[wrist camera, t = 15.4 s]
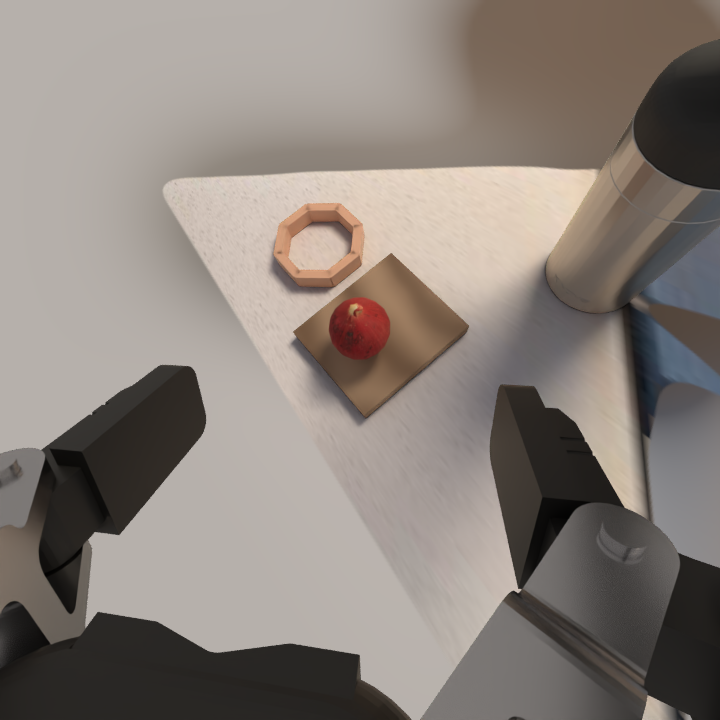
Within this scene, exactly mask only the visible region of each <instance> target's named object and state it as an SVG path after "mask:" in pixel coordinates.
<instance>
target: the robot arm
mask: <svg viewBox="0 0 720 720" xmlns="http://www.w3.org/2000/svg"><path fill="white" fill-rule="evenodd" d="M719 226H720V39H718V40H714V41H711V42H708V43H705V44H702V45H700V46H697V47H695V48H693V49H691V50H689V51H687V52H685V53H684V54H682V55H681V56H679V57H678V58H677V59H675V60H674V61H673V62H671V63H670V64H669V65H668V66H667V67H666V68H665V70H663V72H662V73H661V74H660V75H659V76H658V78H657V79H656V80H655V82H654V84H653V85H652V86H651V88H650V89H649V91H648V93H647V94H646V96H645V98H644V99H643V101H642V103H641V104H640V106H639V108H638V110H637V112H636V113H635V115H634V116H633V118H632V120H631V121H630V123H629V125H628V126H627V128H626V130H625V131H624V133H623V135H622V136H621V138H620V140H619V142H618V143H617V145H616V147H615V149H614V150H613V152H612V153H611V155H610V157H609V159H608V160H607V162H606V163H605V165H604V167H603V168H602V170H601V172H600V173H599V175H598V177H597V178H596V180H595V182H594V183H593V185H592V187H591V188H590V190H589V191H588V193H587V195H586V196H585V198H584V200H583V201H582V203H581V205H580V206H579V208H578V210H577V211H576V213H575V215H574V216H573V218H572V220H571V221H570V223H569V225H568V226H567V228H566V230H565V231H564V233H563V234H562V236H561V238H560V239H559V241H558V243H557V244H556V246H555V248H554V249H553V251H552V253H551V254H550V256H549V258H548V261H547V264H546V278H547V281H548V284H549V286H550V288H551V289H552V291H553V292H554V294H555V295H556V296H557V297H558V298H559V299H560V300H561V301H563V302H564V303H566V304H567V305H569V306H571V307H573V308H575V309H577V310H581V311H585V312H589V313H605V312H610V311H614V310H617V309H619V308H621V307H623V306H624V305H626V304H627V303H629V302H630V301H631V300H632V299H633V298H634V297H636V296H637V295H638V294H639V293H640V292H642V291H643V290H644V289H645V288H646V287H647V286H649V285H650V284H651V283H653V282H654V281H655V280H656V279H657V278H658V277H660V276H661V275H662V274H663V273H664V272H666V271H667V270H668V269H669V268H670V267H671V266H673V265H674V264H675V263H676V262H677V261H679V260H680V259H681V258H682V257H683V256H684V255H686V254H687V253H688V252H689V251H690V250H692V249H693V248H694V247H695V246H696V245H697V244H699V243H700V242H701V241H702V240H703V239H705V238H706V237H707V236H708V235H709V234H710V233H712V232H713V231H714V230H715V229H716V228H718V227H719ZM92 413H93V414H92V415H88V416H87V417H85V418H84V419H83V420H81V421H80V422H78V423H77V424H76V425H75V426H73V427H72V428H70V429H69V430H68V431H67V432H65V433H64V434H62V435H61V436H60V437H58V438H57V439H56V440H54V441H53V442H52V443H50V444H49V445H47V446H46V447H45V448H43V449H42V450H39V449H35V448H22V449H16V450H12V451H8V452H4V453H1V454H0V720H411V719H410V717H409V716H408V715H407V714H406V713H405V712H404V711H403V710H402V709H401V708H400V707H399V706H398V705H397V704H396V703H395V702H393V701H392V700H391V699H390V698H388V697H387V696H386V695H384V694H383V693H382V692H380V691H379V690H378V689H376V688H375V687H373V686H371V685H370V684H368V683H366V682H364V681H362V680H361V675H360V655H357V654H351V653H344V652H339V651H333V650H327V649H320V648H314V647H308V646H302V645H296V644H283V645H276V646H268V647H260V648H252V649H244V650H237V651H230V652H222V653H214V652H209V651H207V650H205V649H203V648H202V647H200V646H198V645H196V644H195V643H193V642H191V641H189V640H188V639H186V638H184V637H183V636H181V635H179V634H177V633H176V632H174V631H172V630H170V629H169V628H167V627H165V626H163V625H162V624H160V623H158V622H156V621H150V620H144V619H137V618H131V617H125V616H119V615H113V614H107V613H100V612H97V614H96V615H95V616H94V618H93V619H92V621H91V622H90V623H89V625H88V626H87V627H86V629H85V619H86V609H87V599H88V588H89V578H90V567H91V557H92V548H91V545H90V543H89V541H88V539H89V538H90V537H91V536H92V534H93V533H94V532H100V533H108V534H115V535H120V534H121V532H122V531H123V530H124V529H125V527H126V526H127V525H128V524H129V523H130V521H131V520H132V519H133V518H134V517H135V515H136V514H137V513H138V512H139V511H140V509H141V508H142V507H143V506H144V505H145V503H146V502H147V501H148V500H149V499H150V497H151V496H152V495H153V494H154V493H155V491H156V490H157V489H158V488H159V487H160V485H161V484H162V483H163V482H164V480H165V479H166V478H167V477H168V476H169V474H170V473H171V472H172V471H173V470H174V468H175V467H176V466H177V465H178V464H179V462H180V461H181V460H182V459H183V458H184V456H185V455H186V454H187V453H188V452H189V450H190V449H191V448H192V447H193V445H194V444H195V443H196V442H197V441H198V439H199V438H200V437H201V435H202V434H203V432H204V429H205V424H206V414H205V409H204V405H203V402H202V397H201V393H200V389H199V385H198V381H197V377H196V373H195V371H194V370H193V369H192V368H191V367H189V366H176V365H160V366H158V367H157V368H155V369H154V370H153V371H151V372H150V373H149V374H147V375H146V376H145V377H144V378H142V379H141V380H139V381H138V382H137V383H135V384H134V385H133V386H130V387H128V388H126V389H124V390H122V391H120V392H119V393H118V394H116V395H115V396H114V397H112V398H111V399H110V400H108V401H107V402H106V404H105V405H101V406H100V407H99V408H97V409H96V410H95V411H93V412H92ZM592 453H593V452H592V451H591V449H590V447H589V445H588V444H587V442H585V438H584V437H583V435H582V433H581V431H580V430H579V428H578V426H577V425H576V423H575V422H574V421H573V420H572V419H570V418H569V417H568V416H567V415H565V414H564V413H563V412H562V411H560V410H559V409H557V408H545V406H544V404H543V402H542V400H541V398H540V396H539V394H538V392H537V390H536V388H535V387H534V386H520V385H503V384H502V385H500V387H499V390H498V394H497V400H496V406H495V412H494V419H493V425H492V431H491V437H490V459H491V465H492V470H493V474H494V479H495V483H496V488H497V493H498V497H499V502H500V507H501V511H502V516H503V520H504V525H505V530H506V534H507V539H508V543H509V548H510V553H511V557H512V562H513V567H514V571H515V576H516V580H517V585H518V589H522V590H521V591H520V592H519V593H517V592H515V591H511V592H510V593H509V594H508V595H507V596H506V597H505V598H504V600H503V601H502V602H501V604H500V605H499V606H498V608H497V609H496V611H495V612H494V614H493V615H492V617H491V618H490V619H489V621H488V622H487V624H486V625H485V627H484V628H483V630H482V631H481V632H480V634H479V635H478V637H477V638H476V640H475V641H474V643H473V644H472V645H471V647H470V648H469V650H468V651H467V653H466V654H465V656H464V657H463V659H462V660H461V661H460V663H459V664H458V666H457V667H456V669H455V670H454V672H453V673H452V675H451V676H450V677H449V679H448V680H447V682H446V683H445V685H444V686H443V688H442V689H441V690H440V692H439V693H438V695H437V696H436V698H435V699H434V701H433V702H432V703H431V705H430V706H429V708H428V709H427V711H426V712H425V714H424V715H423V717H422V718H421V719H420V720H642V717H643V713H644V710H645V706H646V701H647V695H649V696H651V697H653V698H655V699H657V700H659V701H661V702H664V703H666V704H668V705H670V706H672V707H674V708H676V709H678V710H680V711H682V712H684V713H686V714H688V715H690V716H691V718H692V720H720V568H718V567H715V566H712V565H710V564H706V563H704V562H701V561H698V560H695V559H692V558H689V557H687V556H684V555H682V554H679V553H678V552H677V550H676V548H675V547H674V545H673V543H672V542H671V541H670V539H669V538H668V537H667V536H666V535H665V534H664V533H663V532H662V531H661V530H660V529H659V528H658V527H657V526H655V525H654V524H653V523H652V522H650V521H649V520H647V519H646V518H644V517H642V516H641V515H639V514H637V513H635V512H633V511H631V510H628V509H626V508H624V506H623V504H622V503H621V501H620V499H619V497H618V496H617V494H616V492H615V490H614V489H613V487H612V485H611V483H610V482H609V480H608V478H607V477H606V475H605V473H604V471H603V470H602V468H601V466H600V464H599V463H598V461H597V459H596V457H595V456H593V455H592Z"/></svg>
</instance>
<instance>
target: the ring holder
mask: <svg viewBox="0 0 720 720" xmlns="http://www.w3.org/2000/svg"><path fill="white" fill-rule="evenodd" d="M327 221H339V222H340V223H341V224H342V225H343V226H344V227H345V228H346V229H347V230H348V231H349V232H350V233H351V234H352V235H353V237H352V246H351V252H350V253H349V254H348V255H346V256H345V257H344V258H343V259H341V260H340V261H339V262H338V263H336V264H335V265H334V266H332V267H331V268H330V269H329V270H299V269H298V268H297V267H296V266H295V265H294V264H293V263H292V262H291V260H290V259H289V258H288V255H289V250H290V244H291V238H292V237H293V236H294V235H296V234H297V233H298V232H300V231H301V230H302V229H304V228H305V227H306V226H307V225H309V224H310V223H311V222H327ZM364 236H365V235H364V230H363V225H362V223H361V222H360V221H359V220H358V219H357V218H356V217H354V216H353V215H352V214H351V213H350V212H349V211H348V210H347V209H346V208H345V207H344V206H343V205H342V204H340V203H316V204H307V205H306V204H305V205H304V206H302V207H301V208H300V209H299V210H297V211H296V212H295V213H293V214H292V215H291V216H289V217H288V218H287V219H285V220H284V221H283V222H281V223H280V225H279V227H278V232H277V238H276V243H275V248H274V256H275V258H276V260H277V261H278V263H279V265H280V266H281V267H282V268H283V269H284V270H285V271H286V272H287V274H288V275H289V276H290V277H291V278H292V279H293V280H294V281H295V282H296V283H297V285H298V286H305V287H333V286H334V287H335V286H336V285H337V284H338V283H340V282H341V281H342V280H343V279H345V278H346V277H347V276H348V275H350V274H351V273H352V272H354V271H355V270H356V269H357V268H359V267H360V266H361V264H362V255H363V245H364Z"/></svg>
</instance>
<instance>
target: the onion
mask: <svg viewBox="0 0 720 720" xmlns="http://www.w3.org/2000/svg"><path fill="white" fill-rule="evenodd" d="M329 334H330V337H331V341H332V344H333V345H334V346H335V347H336V349H337V350H338V351H339V352H340V353H341V354H342V355H344V356H346V357H348V358H351V359H353V360H363V359H368V358H370V357H372V356H374V355H376V354H378V353H379V352H380V351H381V350H382V349H383V348H384V347H385V345H386V343H387V340H388V338H389V336H390V320H389V317H388V315H387V313H386V311H385V309H384V308H383V307H382V306H380V305H379V304H378V303H377V302H375V301H373V300H371V299H368V298H365V297H357V298H351V299H348V300H346V301H343V302H342V303H341V304H340V305H339V306H338V307H336V308H335V310H334V312H333V314H332V315H331V317H330V323H329Z"/></svg>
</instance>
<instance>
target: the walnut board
mask: <svg viewBox="0 0 720 720" xmlns="http://www.w3.org/2000/svg"><path fill="white" fill-rule="evenodd" d="M357 297H365V298H368V299H371V300H373V301H375V302H377V303H378V304H379V305H380V306H382V307H383V308H384V309H385V311H386V313H387V315H388V317H389V320H390V336H389V338H388V340H387V343H386V345H385V347H384V348H383V349H382V350H381V351H380V352H379V353H378V354H376V355H374V356H372V357H370V358H368V359H363V360H353V359H351V358H348V357H346V356H344V355H342V354H341V353H340V352H339V351H338V350H337V349H336V347H335V346H334V345H333V344H332V341H331V337H330V334H329V323H330V317H331V315H332V314H333V312H334V310H335V308H336V307H338V306H339V305H340V304H341V303H342V302H343V301H346V300H348V299H351V298H357ZM468 327H469V325H468V324H466V323H465V322H464V321H463V320H462V319H461V318H460V317H459V316H458V315H457V314H456V313H455V312H454V311H453V310H451V309H450V308H449V307H448V306H447V305H446V304H445V303H444V302H443V301H442V300H441V299H440V298H439V297H438V296H437V295H435V294H434V293H433V292H432V291H431V290H430V289H429V288H428V287H427V286H426V285H425V284H424V283H423V282H422V281H420V280H419V279H418V278H417V277H416V276H415V275H414V274H413V273H412V272H411V271H410V270H409V269H408V268H407V267H406V266H404V265H403V264H402V263H401V262H400V261H399V260H398V259H397V258H396V257H395V256H394V255H393V254H392V253H391V254H389V255H388V256H387V257H386V258H384V259H383V260H382V261H381V262H379V263H378V264H377V265H376V266H375V267H373V268H372V269H371V270H370V271H368V272H367V273H366V274H365V275H363V276H362V277H361V278H360V279H358V280H357V281H356V282H355V283H353V284H352V285H351V286H350V287H348V288H347V289H346V290H345V291H343V292H342V293H341V294H340V295H338V296H337V297H336V298H335V299H333V300H332V301H331V302H330V303H328V304H327V305H326V306H325V307H323V308H322V309H321V310H320V311H318V312H317V313H316V314H315V315H313V316H312V317H311V318H310V319H308V320H307V321H306V322H305V323H303V324H302V325H301V326H300V327H298V328H297V329H296V330H295V331H293V333H294V334H295V335H296V337H297V338H298V339H299V340H300V341H301V343H302V344H303V345H304V346H305V347H306V348H307V350H308V351H309V352H310V353H311V354H312V356H313V357H314V358H315V359H316V360H317V361H318V363H319V364H320V365H321V366H322V367H323V369H324V370H325V371H326V372H327V373H328V374H329V376H330V377H331V378H332V379H333V380H334V381H335V383H336V384H337V385H338V386H339V387H340V389H341V390H342V391H343V392H344V393H345V394H346V396H347V397H348V398H349V399H350V400H351V402H352V403H353V404H354V405H355V406H356V407H357V409H358V410H359V411H360V412H361V413H362V415H363V416H364V417H365V418H367V417H368V416H369V415H370V414H371V413H373V412H374V411H375V410H376V409H377V408H378V407H380V406H381V405H382V404H383V403H384V402H385V401H387V400H388V399H389V398H390V397H391V396H392V395H394V394H395V393H396V392H397V391H398V390H399V389H401V388H402V387H403V386H404V385H405V384H406V383H408V382H409V381H410V380H411V379H412V378H413V377H415V376H416V375H417V374H418V373H419V372H420V371H422V370H423V369H424V368H425V367H426V366H427V365H429V364H430V363H431V362H432V361H433V360H434V359H436V358H437V357H438V356H439V355H440V354H441V353H443V352H444V351H445V350H446V349H447V348H448V347H450V346H451V345H452V344H453V343H454V342H455V341H457V340H458V339H459V338H460V337H461V336H462V335H464V334H465V333H466V332H467V330H468Z"/></svg>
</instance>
